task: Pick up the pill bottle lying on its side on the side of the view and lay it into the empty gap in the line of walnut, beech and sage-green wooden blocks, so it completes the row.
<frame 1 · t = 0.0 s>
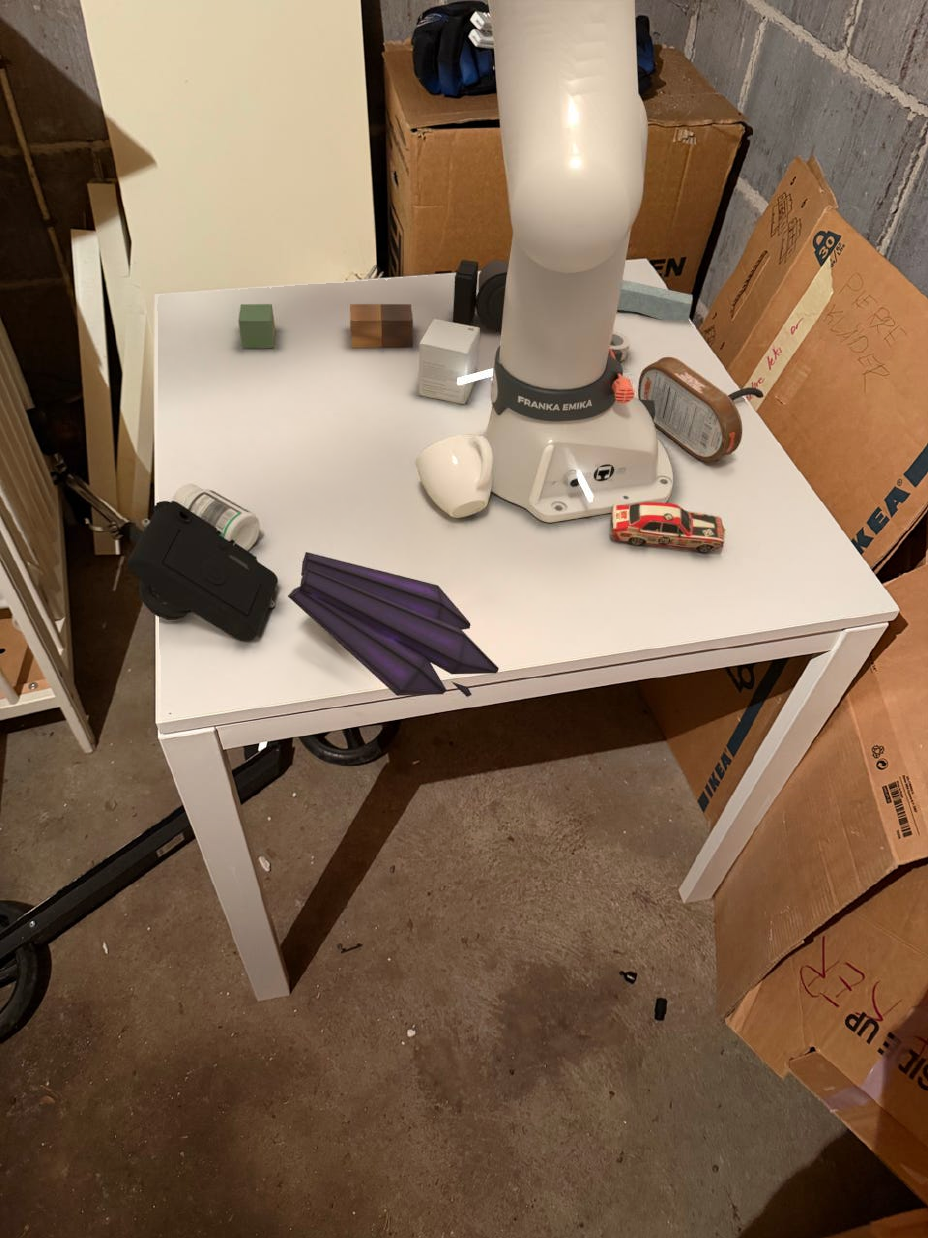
crystal: (290, 575, 78), point 8 cm above the table
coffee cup: (497, 278, 124), point 3 cm above the table
cup: (475, 505, 92), point 3 cm above the table
block sage: (259, 339, 116), on the table
block beech: (366, 339, 117), on the table
ink cartridge: (463, 324, 121), on the table
race car: (663, 538, 95), on the table
camera: (183, 611, 80), point 4 cm above the table
tin: (678, 439, 107), on the table
light blue foam bar: (613, 291, 125), point 2 cm above the table
electronic device: (573, 361, 116), on the table
pill bottle: (246, 536, 88), point 2 cm above the table
block walnut: (396, 339, 118), on the table
product box: (448, 388, 111), on the table
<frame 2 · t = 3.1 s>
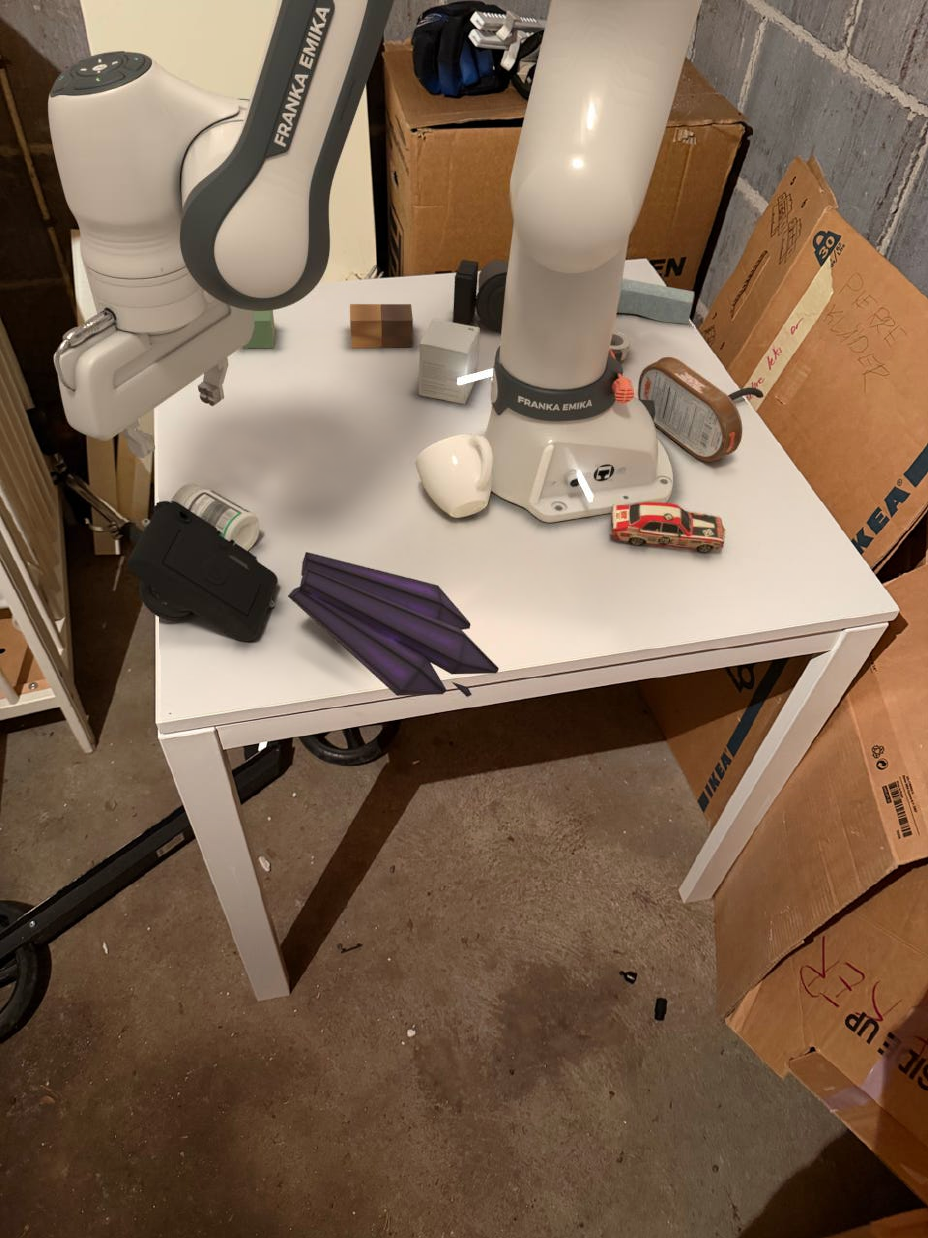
hand: (179, 425, 82), 13 cm above the table, tool pointing down, fingers open, 8 cm apart
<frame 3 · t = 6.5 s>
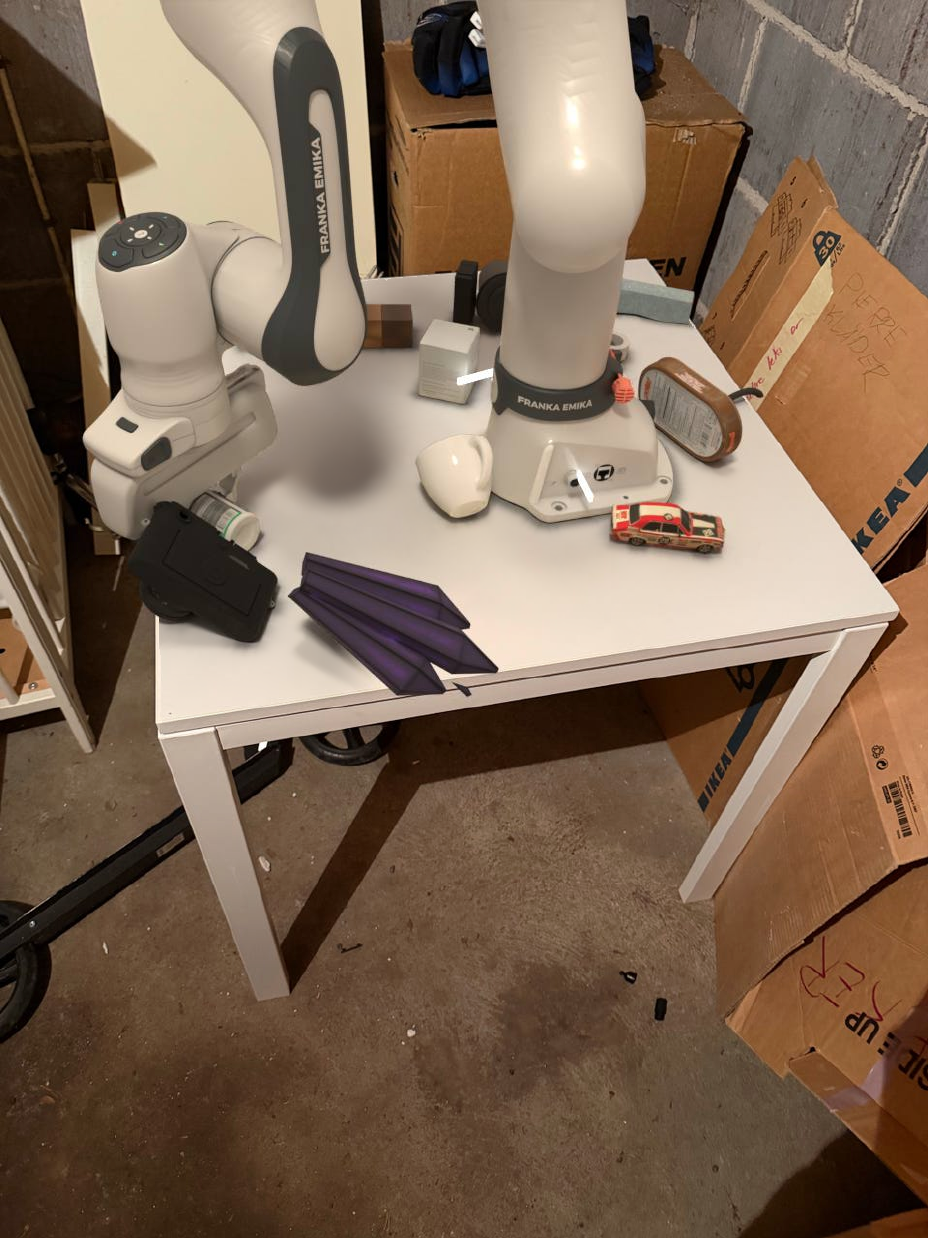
hand: (205, 517, 91), 2 cm above the table, tool pointing down, fingers closed on pill bottle, 5 cm apart
pill bottle: (246, 536, 88), point 2 cm above the table, touching gripper
everything else where it was.
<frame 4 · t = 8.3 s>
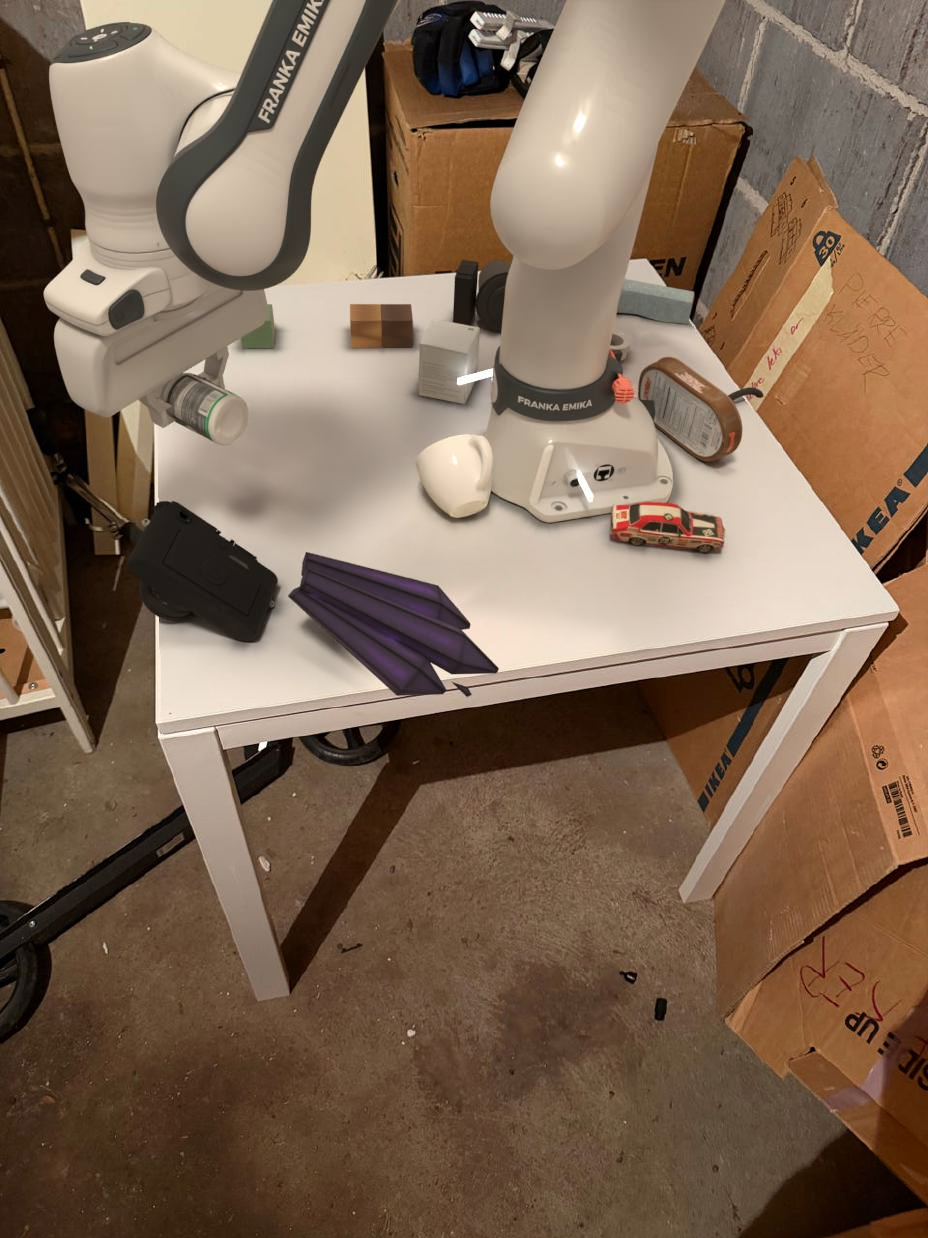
hand: (189, 406, 82), 15 cm above the table, tool pointing down, fingers closed on pill bottle, 5 cm apart
pill bottle: (233, 422, 79), point 15 cm above the table, touching gripper
everything else where it was.
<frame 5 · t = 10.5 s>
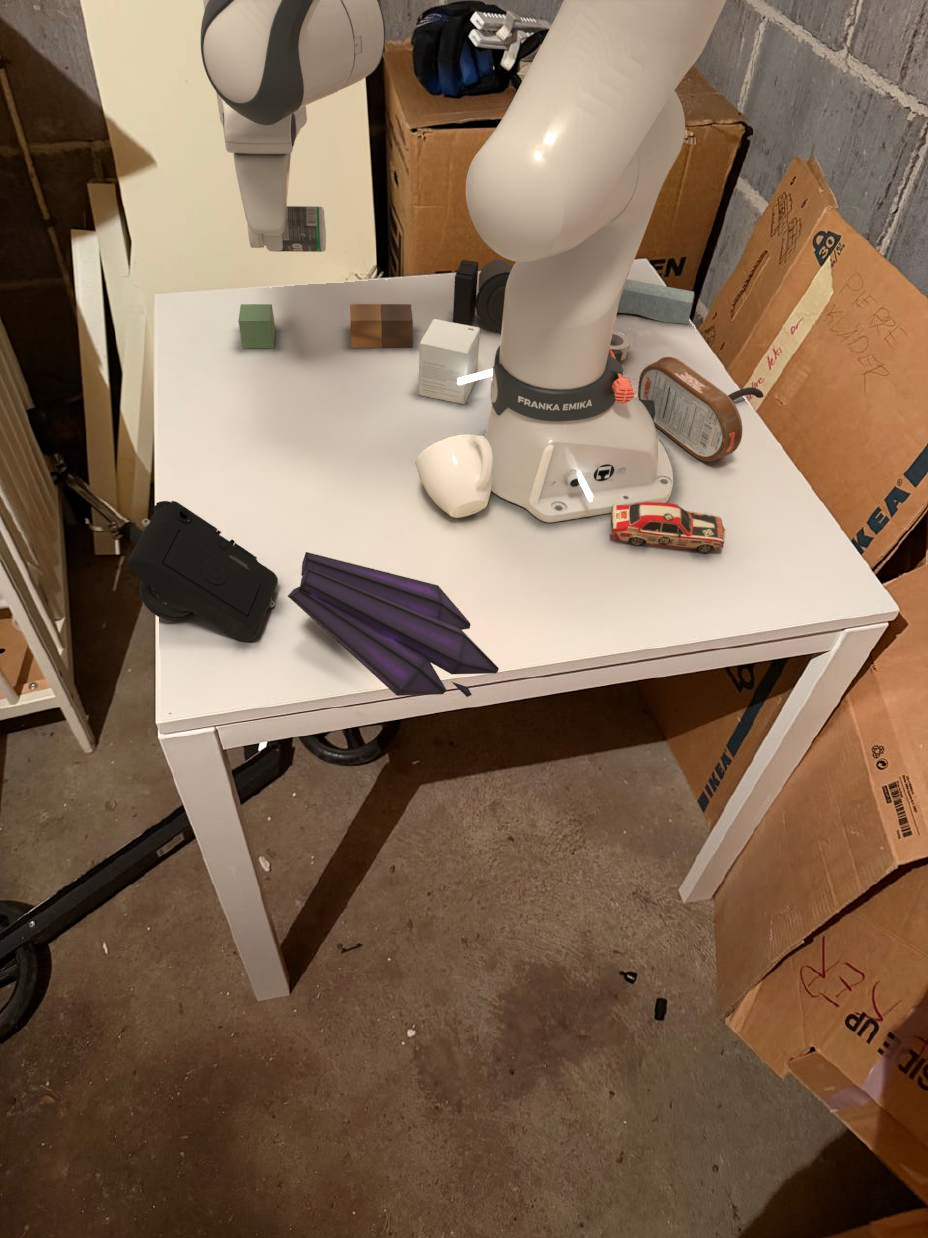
hand: (276, 235, 101), 16 cm above the table, tool pointing down, fingers closed on pill bottle, 5 cm apart
pill bottle: (326, 229, 101), point 17 cm above the table, touching gripper
everything else where it was.
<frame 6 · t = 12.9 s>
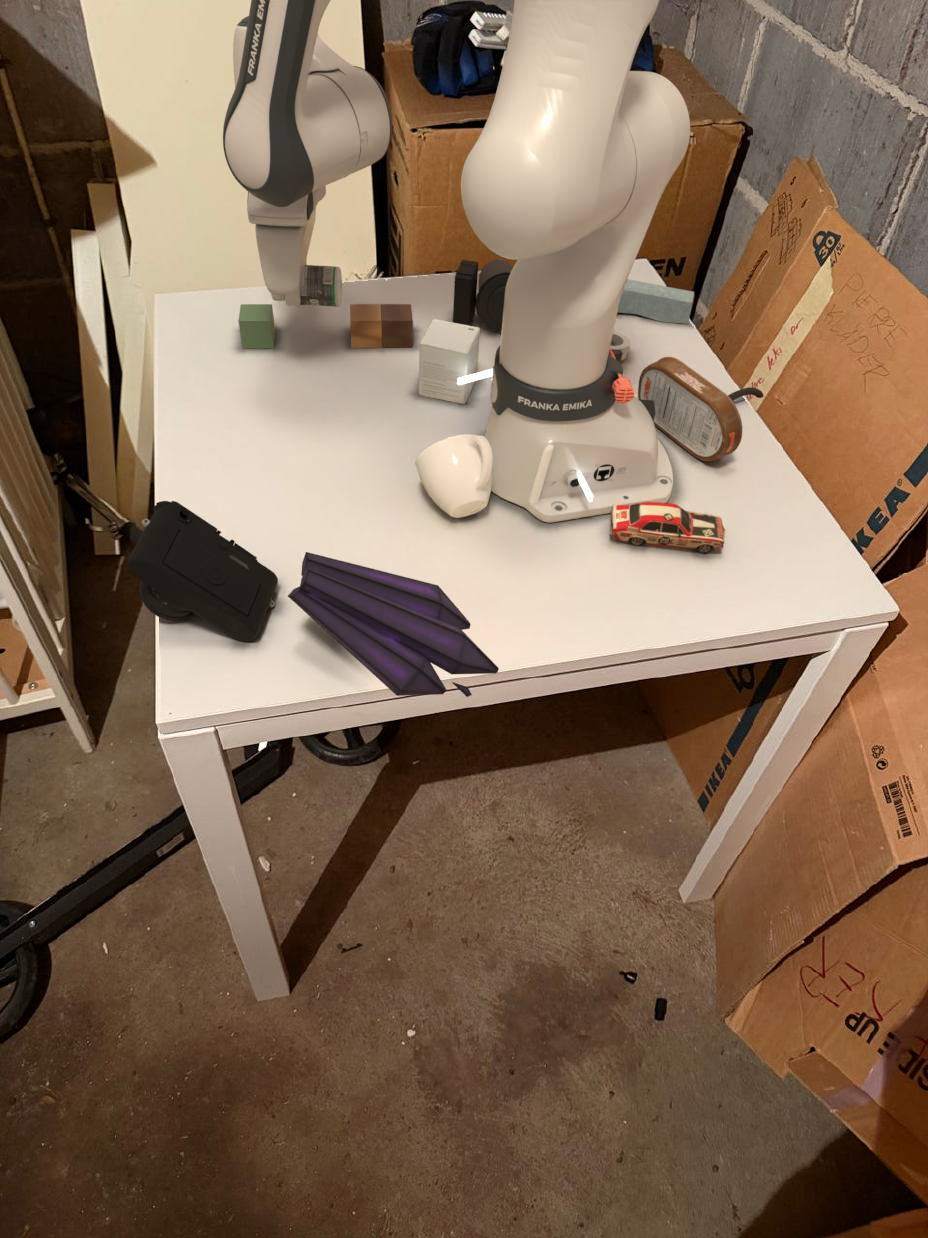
hand: (296, 290, 111), 7 cm above the table, tool pointing down, fingers closed on pill bottle, 5 cm apart
pill bottle: (342, 286, 111), point 8 cm above the table, touching gripper
everything else where it was.
when the fingers open (1 cm above the table, at t = 14.6 s): pill bottle stays where it is, point 2 cm above the table.
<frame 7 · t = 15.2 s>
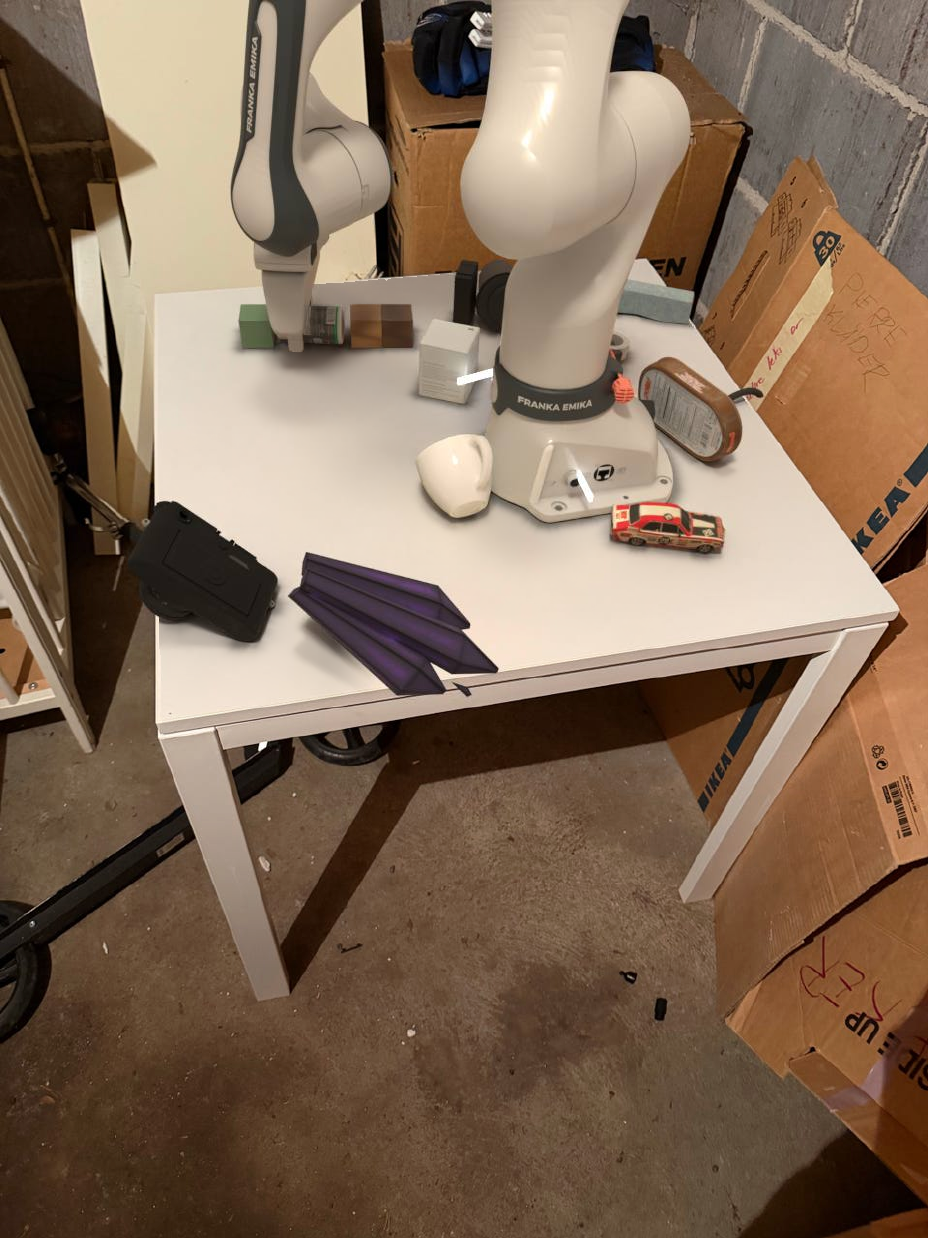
hand: (301, 328, 115), 2 cm above the table, tool pointing down, fingers open, 8 cm apart
pill bottle: (344, 325, 115), point 2 cm above the table
everything else where it was.
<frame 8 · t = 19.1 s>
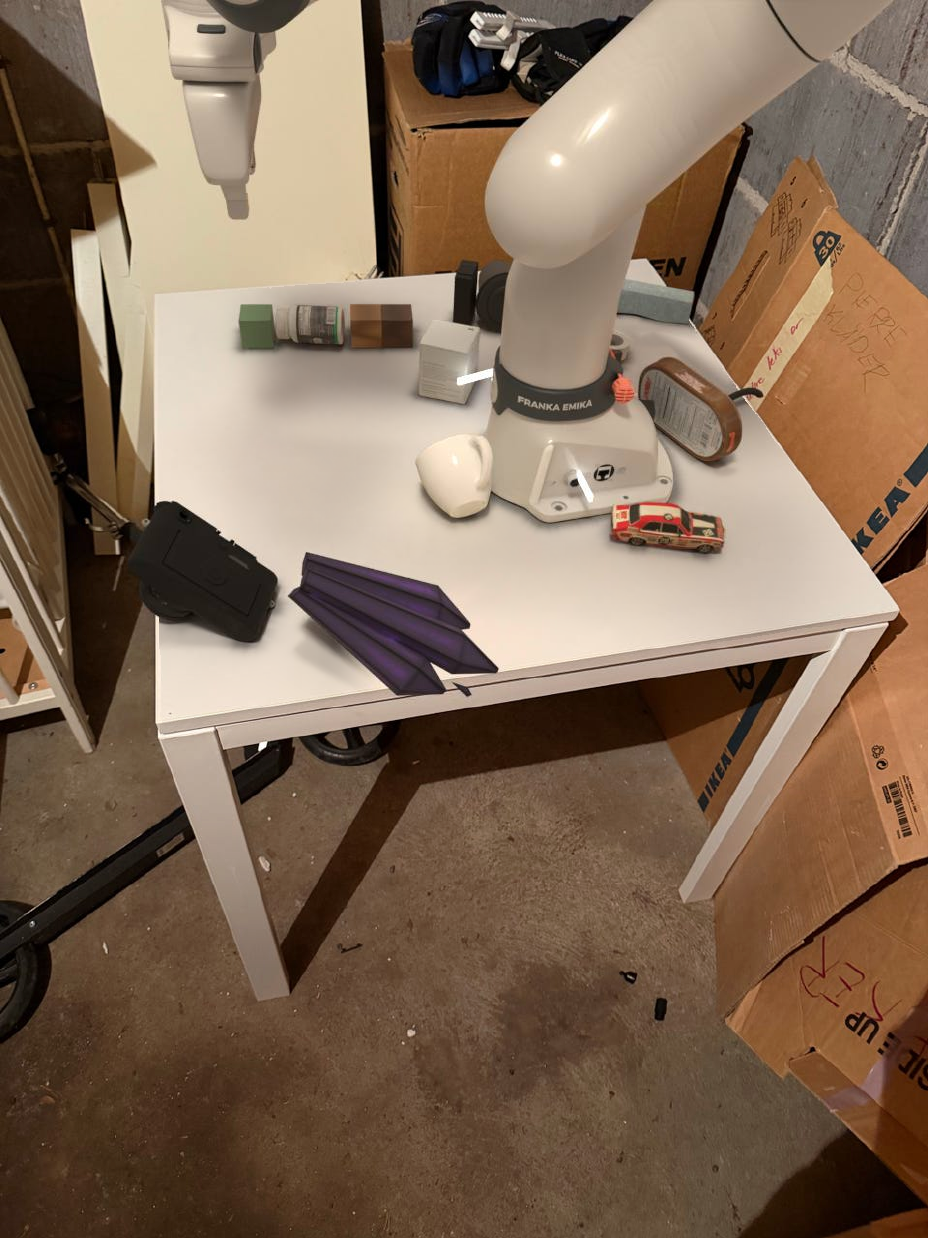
hand: (243, 193, 83), 27 cm above the table, tool pointing down, fingers open, 8 cm apart
nothing on the table moved.
at the end: the gripper is holding nothing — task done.
